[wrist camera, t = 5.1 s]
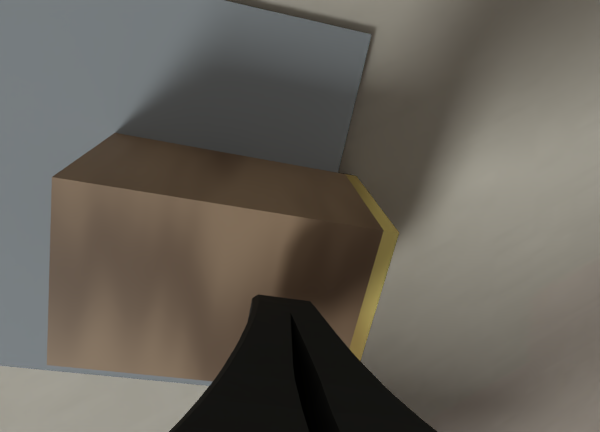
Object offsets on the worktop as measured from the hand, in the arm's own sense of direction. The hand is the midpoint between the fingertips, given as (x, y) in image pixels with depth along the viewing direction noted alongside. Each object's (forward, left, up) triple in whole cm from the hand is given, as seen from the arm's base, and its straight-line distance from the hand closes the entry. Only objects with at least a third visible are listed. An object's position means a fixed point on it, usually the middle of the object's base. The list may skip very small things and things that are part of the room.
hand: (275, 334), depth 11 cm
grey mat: (0, +5, -6) cm, 8 cm away
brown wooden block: (0, -3, -4) cm, 5 cm away
